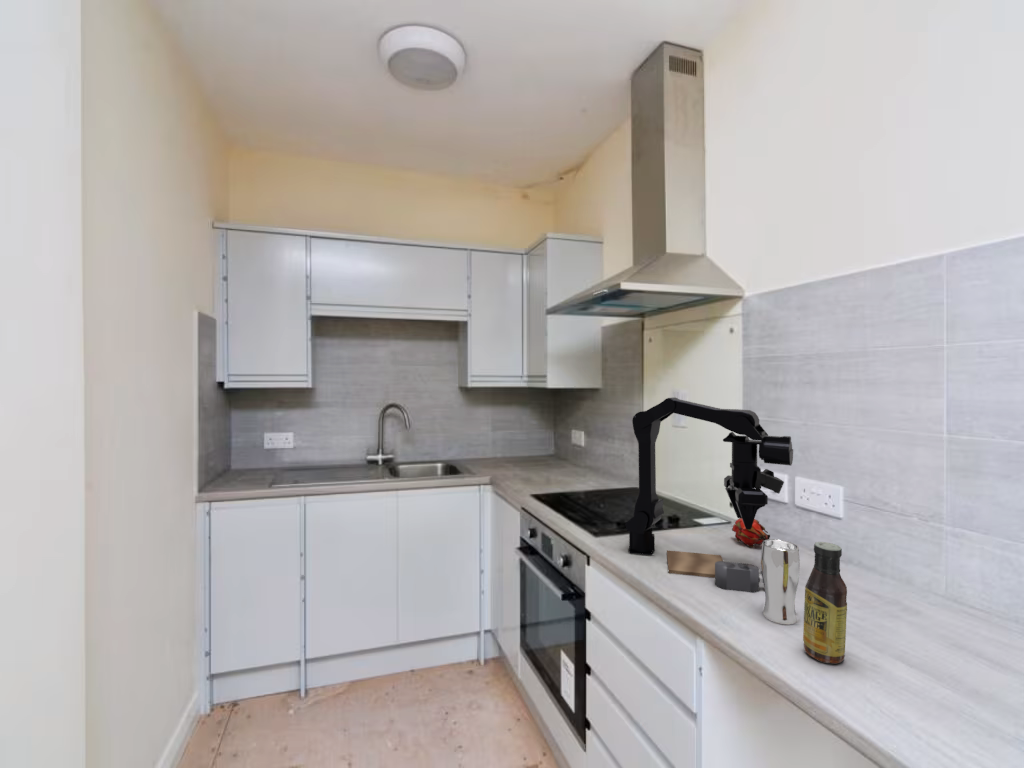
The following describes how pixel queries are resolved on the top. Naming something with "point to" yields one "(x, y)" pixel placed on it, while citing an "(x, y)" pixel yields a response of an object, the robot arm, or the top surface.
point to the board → (692, 563)
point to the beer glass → (780, 580)
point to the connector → (737, 576)
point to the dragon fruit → (750, 533)
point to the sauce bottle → (825, 606)
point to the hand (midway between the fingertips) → (743, 523)
